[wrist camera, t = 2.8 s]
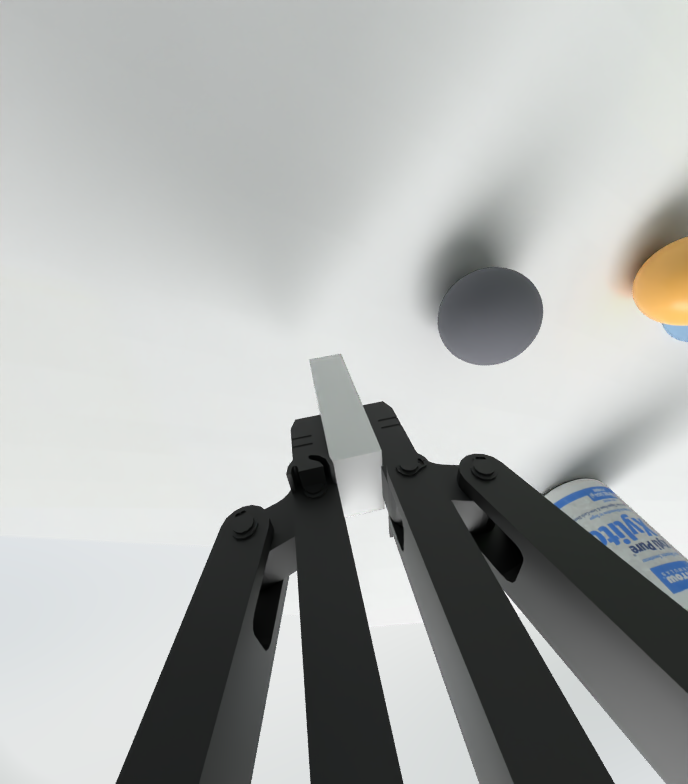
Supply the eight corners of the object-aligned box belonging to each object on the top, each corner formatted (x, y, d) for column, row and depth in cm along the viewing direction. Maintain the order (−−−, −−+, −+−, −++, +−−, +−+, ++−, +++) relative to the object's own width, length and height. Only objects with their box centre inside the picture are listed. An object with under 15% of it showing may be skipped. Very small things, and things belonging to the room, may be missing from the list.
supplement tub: (595, 462, 34) (772, 611, 22) (603, 499, 39) (750, 636, 27) (515, 505, 36) (639, 665, 24) (533, 535, 41) (642, 679, 29)
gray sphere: (408, 297, 19) (450, 331, 15) (486, 238, 18) (557, 255, 14) (443, 356, 22) (487, 399, 18) (512, 308, 21) (577, 341, 17)
